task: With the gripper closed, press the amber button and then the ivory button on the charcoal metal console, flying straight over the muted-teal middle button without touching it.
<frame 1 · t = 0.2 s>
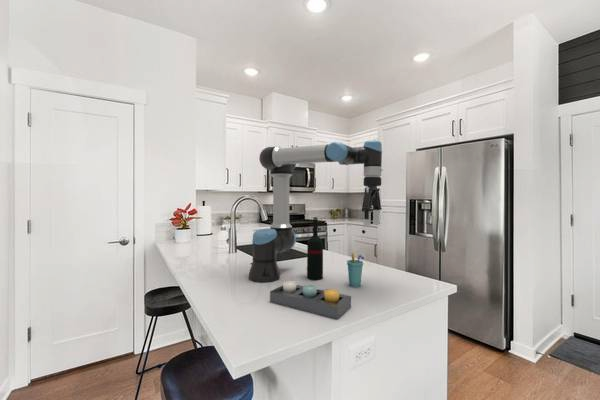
hand: (371, 225, 122), 28 cm above the counter, fingers open, 13 cm apart
button teal: (309, 291, 104), point 5 cm above the counter, slide at 0.0 cm
console: (309, 304, 104), on the counter
cup: (355, 286, 126), on the counter
button ivory: (289, 287, 109), point 5 cm above the counter, slide at 0.0 cm
button amber: (331, 296, 100), point 5 cm above the counter, slide at 0.0 cm
wine bottle: (313, 277, 139), on the counter
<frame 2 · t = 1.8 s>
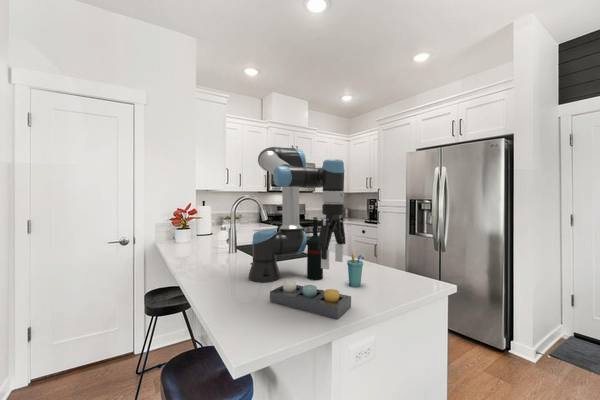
hand: (332, 264, 99), 16 cm above the counter, fingers open, 11 cm apart
nothing on the counter moved.
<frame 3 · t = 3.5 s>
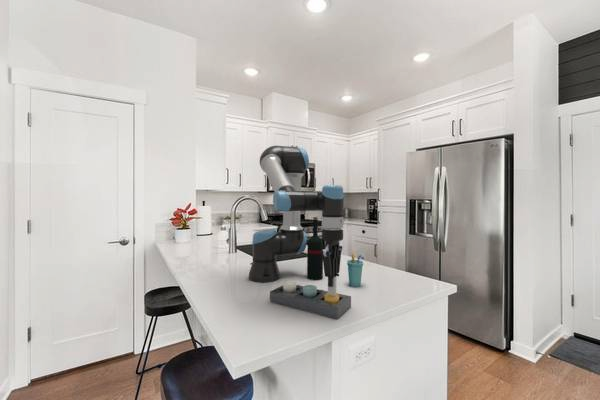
hand: (332, 294, 99), 5 cm above the counter, fingers closed
button amber: (331, 300, 100), point 3 cm above the counter, slide at 1.3 cm, touching gripper
everything else where it was.
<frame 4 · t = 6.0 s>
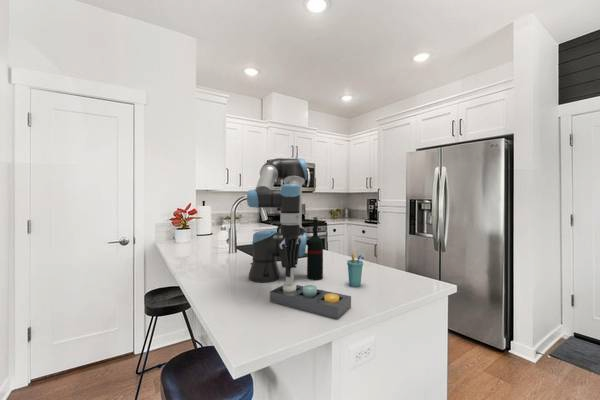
hand: (289, 284, 109), 6 cm above the counter, fingers closed
button ivory: (289, 289, 109), point 4 cm above the counter, slide at 0.8 cm, touching gripper
button amber: (331, 300, 100), point 3 cm above the counter, slide at 1.6 cm
everything else where it was.
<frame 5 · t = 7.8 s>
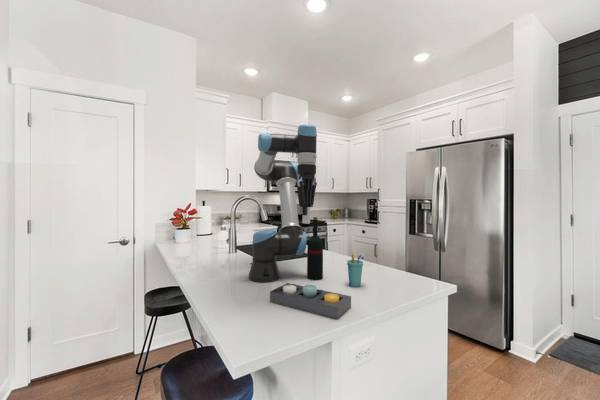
hand: (306, 223, 112), 30 cm above the counter, fingers closed
button ivory: (289, 291, 109), point 3 cm above the counter, slide at 1.6 cm
everything else where it was.
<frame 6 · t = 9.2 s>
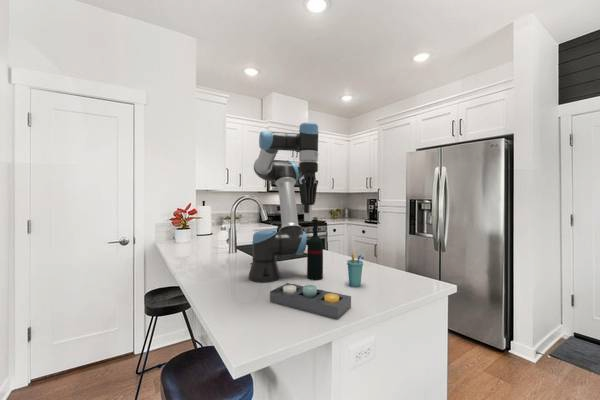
hand: (308, 221, 112), 30 cm above the counter, fingers closed
nothing on the counter moved.
at the end: button amber slide at 1.6 cm; button ivory slide at 1.6 cm; button teal slide at 0.0 cm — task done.
